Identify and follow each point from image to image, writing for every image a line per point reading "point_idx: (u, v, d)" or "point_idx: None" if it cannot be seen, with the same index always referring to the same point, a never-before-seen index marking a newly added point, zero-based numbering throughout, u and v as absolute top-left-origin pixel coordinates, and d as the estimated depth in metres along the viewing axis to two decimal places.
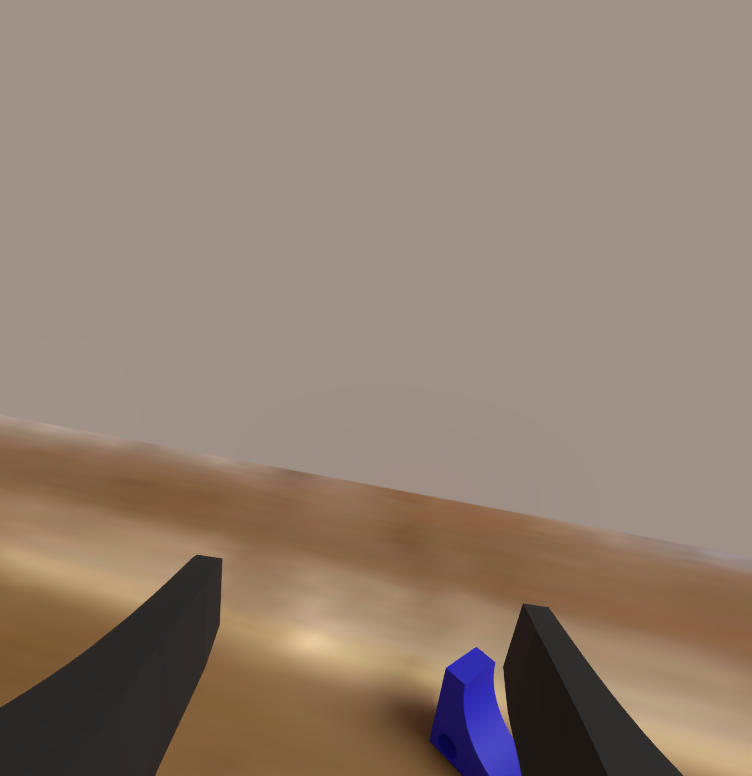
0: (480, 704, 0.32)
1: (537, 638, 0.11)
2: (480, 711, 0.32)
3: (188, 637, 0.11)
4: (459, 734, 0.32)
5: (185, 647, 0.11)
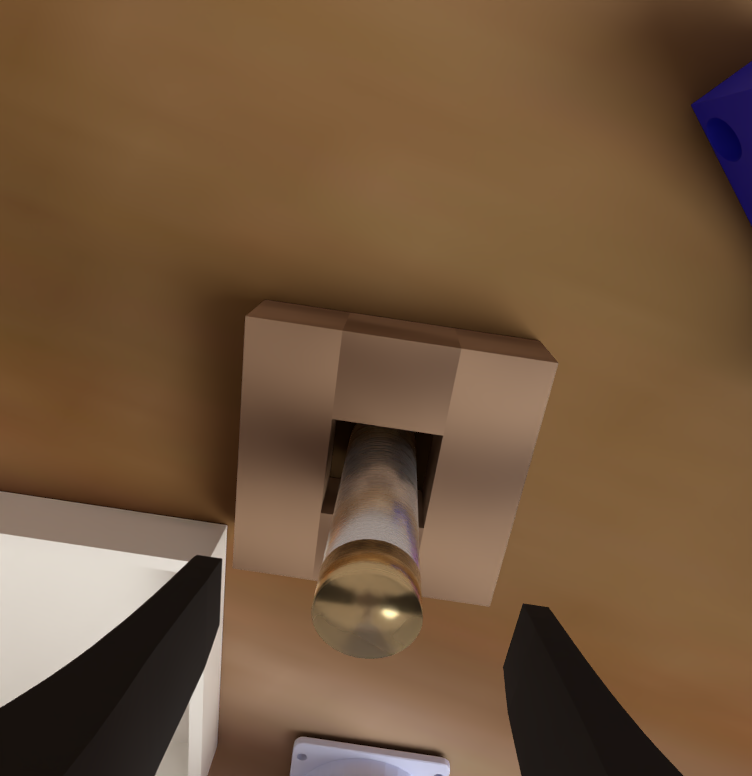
0: None
1: (537, 638, 0.11)
2: None
3: (188, 637, 0.11)
4: None
5: (185, 647, 0.11)
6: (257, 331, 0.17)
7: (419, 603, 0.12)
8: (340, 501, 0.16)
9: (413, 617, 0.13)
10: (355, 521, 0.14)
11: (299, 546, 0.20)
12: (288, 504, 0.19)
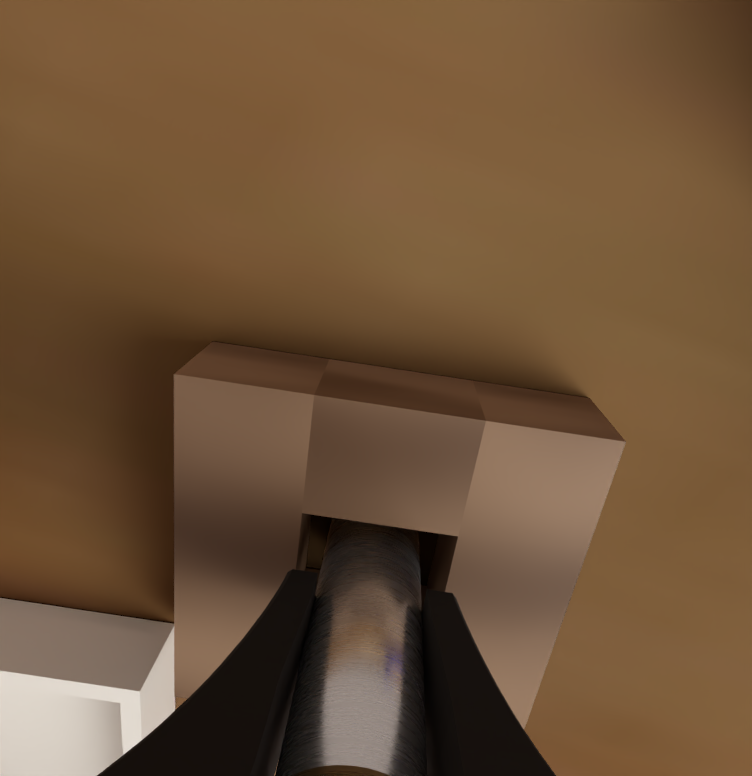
0: None
1: (431, 622, 0.11)
2: None
3: (297, 653, 0.11)
4: None
5: (295, 663, 0.11)
6: (192, 395, 0.12)
7: None
8: (308, 655, 0.11)
9: None
10: (326, 715, 0.09)
11: None
12: (245, 620, 0.14)
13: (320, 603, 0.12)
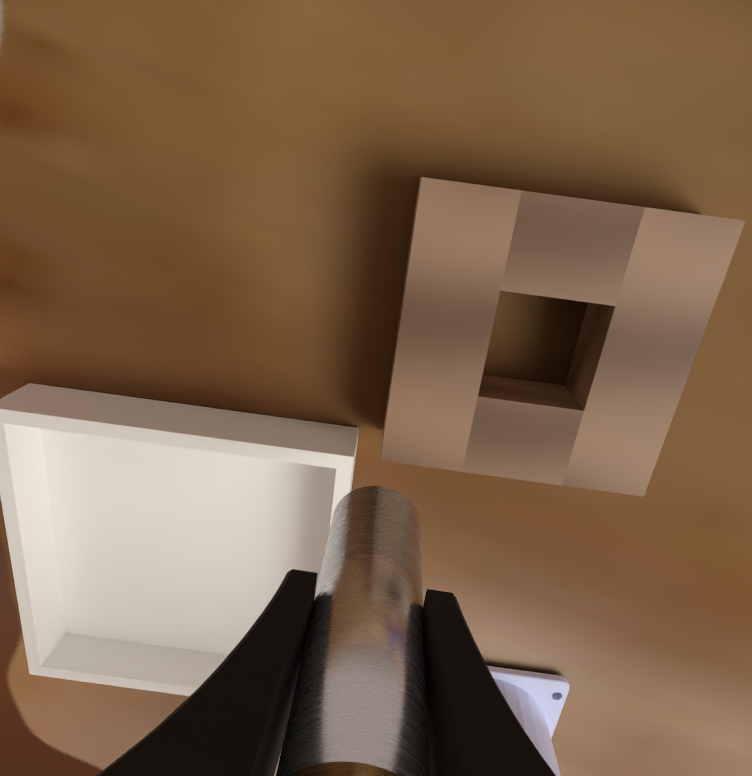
0: None
1: (431, 622, 0.11)
2: None
3: (297, 653, 0.11)
4: None
5: (295, 663, 0.11)
6: (432, 193, 0.16)
7: None
8: (311, 651, 0.11)
9: None
10: (329, 711, 0.09)
11: (451, 434, 0.19)
12: (445, 387, 0.19)
13: (323, 599, 0.12)
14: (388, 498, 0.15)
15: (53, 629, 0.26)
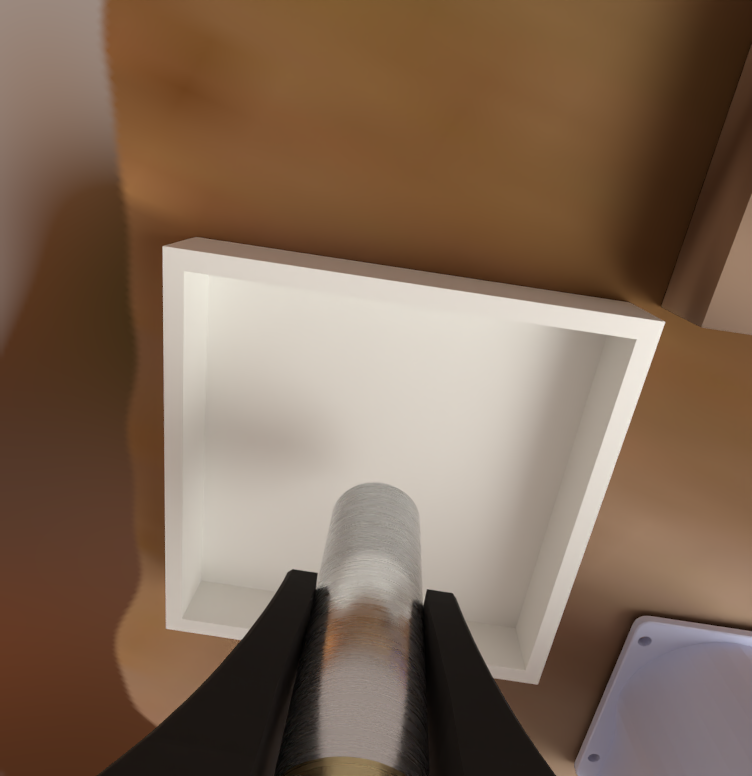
0: None
1: (431, 622, 0.11)
2: None
3: (297, 653, 0.11)
4: None
5: (295, 662, 0.11)
6: None
7: None
8: (313, 644, 0.10)
9: None
10: (335, 706, 0.09)
11: None
12: None
13: (325, 592, 0.12)
14: (392, 496, 0.15)
15: (194, 573, 0.20)
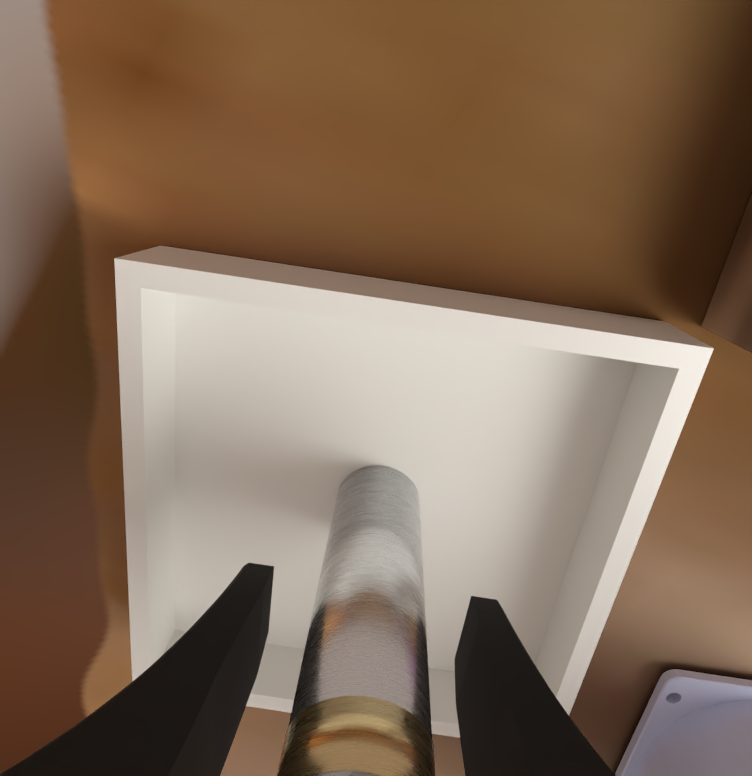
0: None
1: (480, 630, 0.11)
2: None
3: (247, 646, 0.11)
4: None
5: (245, 655, 0.11)
6: None
7: None
8: (323, 606, 0.11)
9: None
10: (344, 655, 0.10)
11: None
12: None
13: (333, 562, 0.13)
14: (393, 477, 0.16)
15: (165, 624, 0.18)
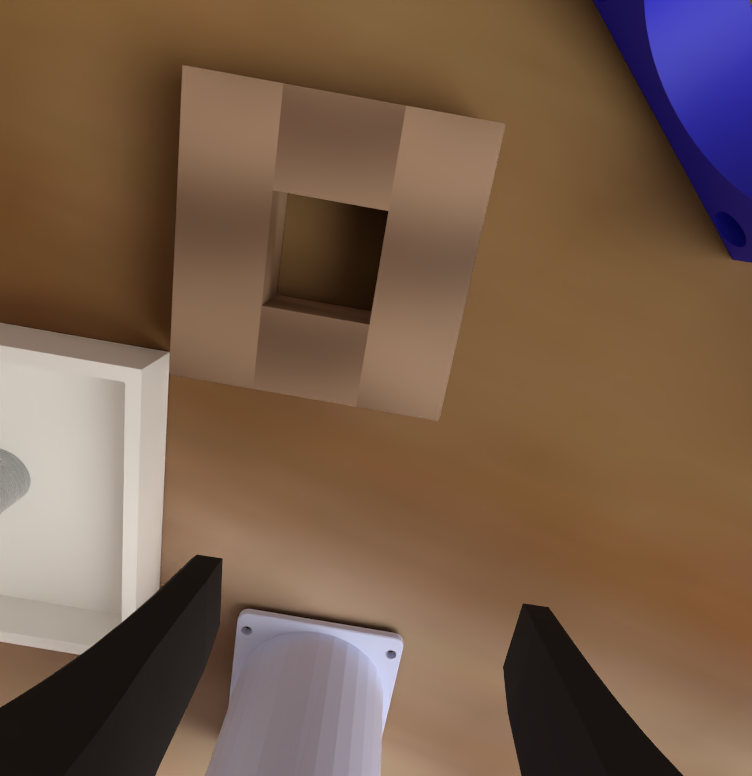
0: None
1: (537, 638, 0.11)
2: None
3: (188, 637, 0.11)
4: None
5: (185, 647, 0.11)
6: (195, 83, 0.16)
7: None
8: None
9: None
10: None
11: (239, 346, 0.19)
12: (227, 294, 0.18)
13: None
14: None
15: None
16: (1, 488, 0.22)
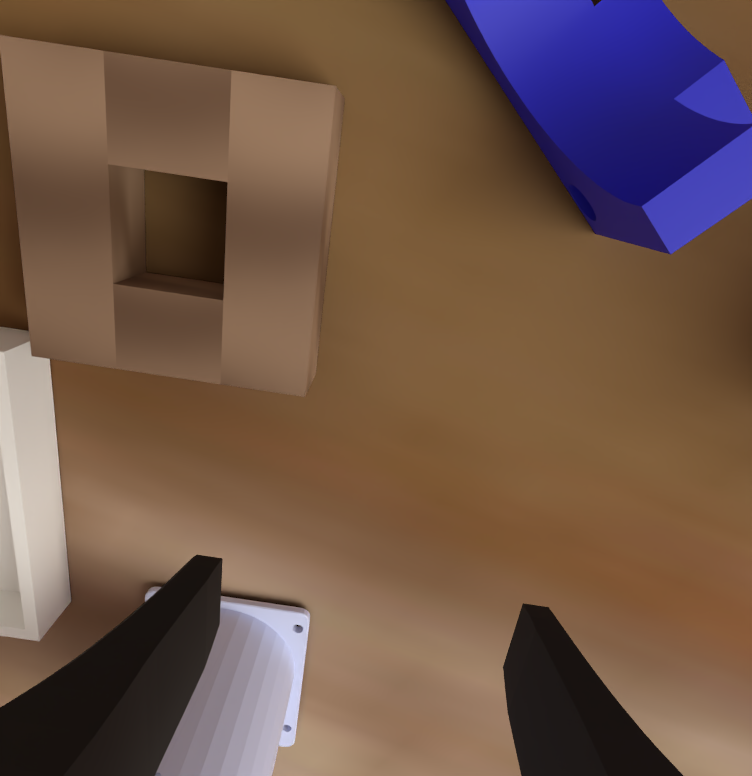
0: None
1: (537, 638, 0.11)
2: None
3: (188, 637, 0.11)
4: None
5: (185, 646, 0.11)
6: (14, 54, 0.16)
7: None
8: None
9: None
10: None
11: (96, 326, 0.19)
12: (77, 273, 0.18)
13: None
14: None
15: None
16: None
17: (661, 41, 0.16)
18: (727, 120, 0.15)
